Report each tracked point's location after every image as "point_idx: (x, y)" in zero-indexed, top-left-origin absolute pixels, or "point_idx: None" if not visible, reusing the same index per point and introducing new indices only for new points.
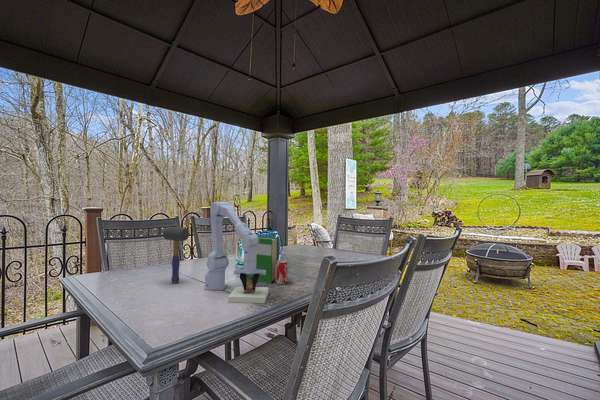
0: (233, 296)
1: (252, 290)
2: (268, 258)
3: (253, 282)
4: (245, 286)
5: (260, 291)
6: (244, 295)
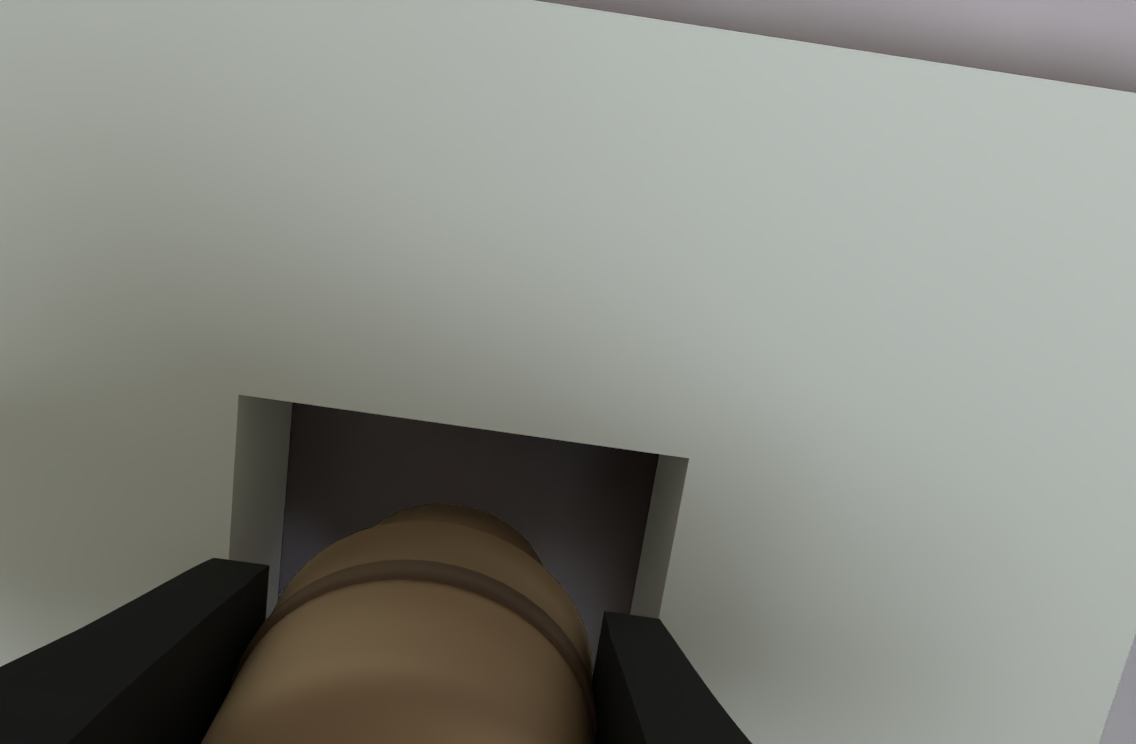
0: (1085, 138)
1: (297, 580)
2: None
3: (69, 729)
4: (609, 741)
5: (16, 634)
6: (618, 226)
